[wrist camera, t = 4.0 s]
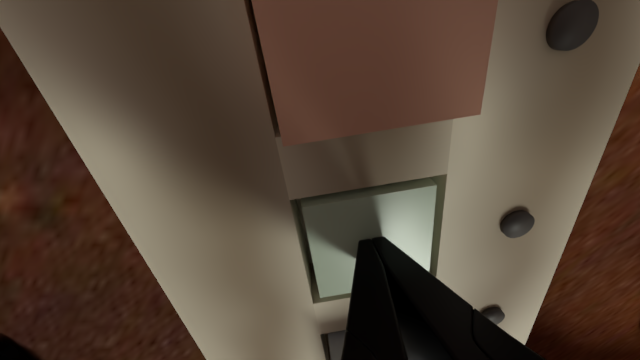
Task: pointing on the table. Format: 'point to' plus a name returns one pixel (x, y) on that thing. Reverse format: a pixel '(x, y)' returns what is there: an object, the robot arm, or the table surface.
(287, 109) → the two-dot key
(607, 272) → the table surface
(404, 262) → the robot arm
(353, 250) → the one-dot key
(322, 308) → the key panel
